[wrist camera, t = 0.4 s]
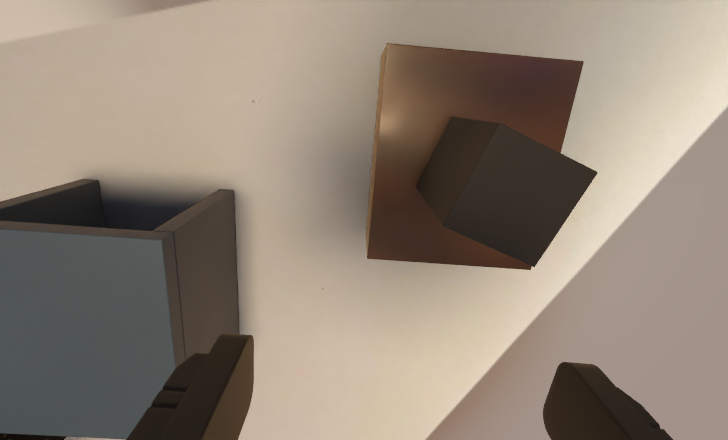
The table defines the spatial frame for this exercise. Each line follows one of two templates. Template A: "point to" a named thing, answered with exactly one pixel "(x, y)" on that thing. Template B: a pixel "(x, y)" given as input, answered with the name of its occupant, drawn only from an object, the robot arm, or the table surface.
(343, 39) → the table surface
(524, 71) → the brown wooden box
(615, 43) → the table surface
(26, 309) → the grey step stool
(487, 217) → the black block
